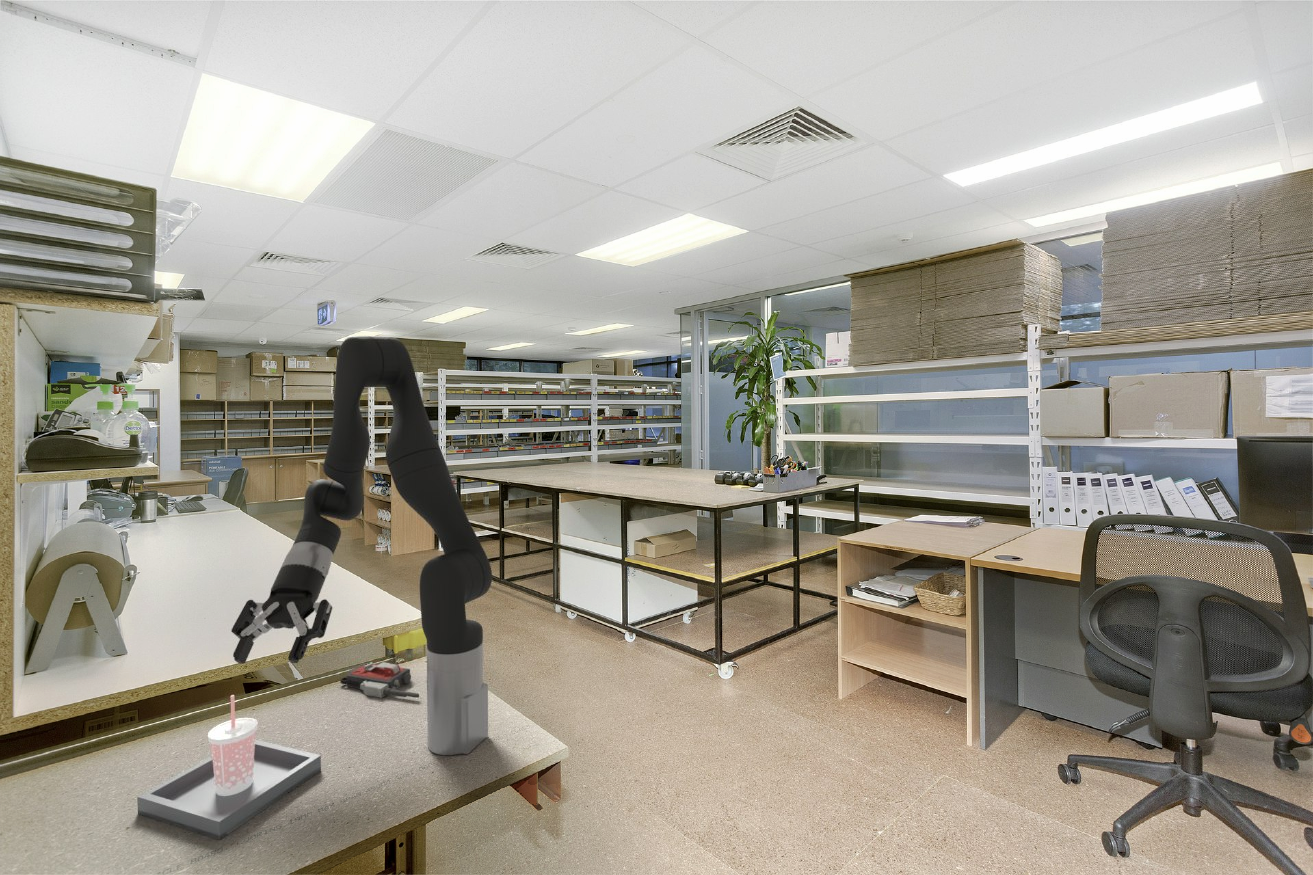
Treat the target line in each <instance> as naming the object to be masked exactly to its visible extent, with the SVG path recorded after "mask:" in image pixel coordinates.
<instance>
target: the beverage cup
mask: <svg viewBox="0 0 1313 875" xmlns="http://www.w3.org/2000/svg"><path fill="white" fill-rule="evenodd" d="M235 698H236V697H235V695H234V694H231V695H230V720H227V721H225V722H222V723H219V724H218V725H216V726H214V727H213V728H211V729H210V731H209V732H208V733H207V739H208V743H210V748H211V750H210V751H211V756H212V760H213V769H214V779H215V788H216V794H218V795H220V796H229V795H233V794H237V793H239V792H241V791H244V790H245V789H247V788H248V787H249V786H251V784H252V783H253V770H254V750H255V740H256V732H257V730H258V720H257V719H256V718H253V717H239V718H236V711H235V710H236V708H235V706H236V704H235V703H236V702H235Z"/></svg>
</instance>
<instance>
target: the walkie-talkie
mask: <svg viewBox="0 0 1313 875" xmlns="http://www.w3.org/2000/svg"><path fill="white" fill-rule="evenodd" d="M368 663H370V664H368ZM365 664H367V665H365ZM360 665H364V666H360ZM411 678H412V674H411V669H410V668H407V667H400V665H399V664H396V663H390V662H385V661H383V662H381V663H379V664H377V663H374V662H372V661H371V662H362V663H361V664H359V665H357V666H355V667H354V668H352V669H350V670H348V671H347V672H346V677H342V678H340V679H339V680H340V684H342V685H346V687H347V688H354V689H360V690H362V691H363V693H364V696H370V697H376V698H377V697H380V698H379V699H383V697H386V696H395V697H401V698H408V697H410V698H415V699H416V698H418V699H419V697H420V693H418V692H417V693H416V692H412V691H405V690H404V691H403V690H398V689H399V688H400V687H402V686H405V685H407V684H409V682H410V681H411Z"/></svg>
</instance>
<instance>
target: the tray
mask: <svg viewBox="0 0 1313 875" xmlns="http://www.w3.org/2000/svg"><path fill="white" fill-rule="evenodd" d="M321 771H322V755H321V754H319V753H312V752H310V751H305V750H300V749H297V748H292V747H288V746H284V745H280V744H276V743H271V742H268V741H263V740H258V739H255V750H254V770H253V783H252V784H251V786H249V787H248V788H247V789H245V790H244V791H241V792H239V793H237V794H233V795H229V796H220V795H218V794H216V788H215V779H214V769H213V760H212V755H211V756H210V757H208V758H205V759H204V760H203V761H201V762H199V763H197V764H195V765H193V766H192V767H190V768H188V769H186V770H184V771H182V772H180V773H179V774H176V775H175V776H173V777H171V778H169V779H168V780H165V781H163V782H162V783H159V784H158V785H156V786H155V787H153V788H151V789H150V790H147V791H145V792H144V793H141V794H139V795H138V796H137V799H136V800H137V801H136V802H137V814H138V815H140V816H144V817H147V818H150V819H153V820H156V821H158V822H159V821H160V822H161V823H166V824H169V825H172V826H175V827H178V828H181V829H184V830H188V831H190V832H193V833H197V834H200V835H203V836H206V837H210V838H212V839H215V840H218V841H220V840H222V839H223V838H225V837H226V836H228V835H229V834H230V833H232V832H234V831H235V830H236V829H238V828H239V827H240V826H242V825H244V824H246V823H247V822H248V821H249V820H251V819H252V818H254V817H255V816H257V815H258V814H260V813H261V812H263V811H264V810H266V808H269V807H270V806H271V805H273V804H274V803H275V802H277V801H279V800H280V799H282V798H283V797H285V796H286V795H287V794H289V793H291V792H292V791H293V790H295V789H297V788H298V787H299V786H301V785H302V784H303V782H304V783H305V782H307V781H308V780H309V779H311V778H312V777H313V776H316V774H318V773H320V772H321ZM300 784H301V785H300ZM297 786H298V787H297ZM294 788H295V789H294ZM291 790H292V791H291ZM288 792H289V793H288Z"/></svg>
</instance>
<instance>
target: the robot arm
mask: <svg viewBox="0 0 1313 875" xmlns="http://www.w3.org/2000/svg"><path fill="white" fill-rule="evenodd" d="M335 364H336V367H335V380H334V381H335V382H334V392H333V395H334V396H333V414H332V415H333V417H332V425H331V426H332V427H331V434H330V438H329V441H328V445H327V449H326V453H325V457H324V462H323V465H322V471H323V473H324V474H325V476H326V477H327V478H329V479H331V480H329V479H324V478H320V479H315V480H314V481H313V482H311V483H310V484H309V485H308V487H307V488H306V490H305V494H304V505H303V506H304V507H303V516H302V520H301V525H300V528H299V530H298V532H297V533H298V534H297V535H296V538H295V540H294V541H293V545H291V548H290V549H289V551H288V552H287V554H286V555H285V557H284V560H283V562H282V564H281V566H280V569H279V571H278V573H277V576H276V577H275V580H274V582H273V584H272V586H271V588H270V592H269V596H268V598H267V600H266V601H264V602H256V601H255V600H254V599H248V600H247V601H246V602H245V604H244V606H243V607H242V610H241V612H240V613H239V615H238V617H237V619H236V621H235V622H234V624H233V626H232V628H231V633H232V634H233V635H234V636H236V637H237V638H238V639H239V640H238V642H237V645H236V647H235V650H234V651H233V653H232V654H233V655H232V657H233V659H234V661H235V662H236V663H238V664H239V665H241V664H245V663H246V662H247V659H248V657H249V655H250V653H251V650H252V648H253V646H254V644H255V642H254V641H256V639H258V638H259V637H260V636H261V635H263V634H266V633H268V632H270V630H271V631H272V629H274V630H275V629H277V630H278V629H283V628H285V629H294V628H296V630H297V633H298V636H296V637H295V639H294V642H293V644H292V647H291V650H290V652H289V654H288V657H287V659H288V661H289V662H290V663H291V664H298V663H299V661H300V660H302V659H303V658H304V656H305V653H306V650H307V648H308V646H309V643H310V641H312V640H314V639H316V638H318V639H322V638H323V637H324V636H325V634H326V630H327V627H328V625H329V620H330V617H331V614H332V611H333V606H332V604H331V603H330V602H329V601H328V599H325V598H324V599H322V600H320V601H319V602H318V599H319V596H320V594H321V591H322V589H323V586H324V584H325V581H326V579H327V576H328V574H329V571H330V568H331V565H332V561H333V560H332V559H333V557H334V554H335V552H336V550H337V547H338V544H339V542H340V539H341V536H342V530H341V528H340V526H339V525H338V524H337V523H335V522H334V521H332V520H329V519H327V518H325V517H328V518H332V519H336V520H341V521H348V522H349V521H353V520H354V519H356V518H357V517H359V515H360V514H361V513H362V510H363V508H364V503H365V493H364V484H363V481H364V480H363V475H364V469H365V467H366V466H365V465H366V462H367V458H368V456H369V455H368V454H369V452H370V448H371V437H370V433H369V429H368V426H367V425H366V422H365V420H364V418H363V415H362V412H361V410H360V409H361V408H360V401H361V397H362V394H363V392H364V390H365V388H383V387H384V388H385V389H386V391H387V393H388V395H389V397H390V401H391V404H392V409H393V420H392V424H391V428H390V431H389V435H388V439H387V443H386V449H385V460H386V464H387V467H388V470H389V473H390V475H391V478H392V481H393V483H394V486H395V489H396V491H397V492H398V494H399V495H400V497H401V498H402V499H403V500H404V502H405V503H406V504H407V505H408V506H409V507H410V508H412V510H413V511H415V512H416V514H418V515H419V516H420V517H421V518H422V519H423V520H424V521H425V522H426V523H427V524H428V525H429V526H430V528H431V529H432V530H433V532H434V533H435V535H436V536H437V539H438V541H439V543H440V546H441V548H442V551H443V554H440V555H437V556H435V557H432V558H431V559H428V561H427V562H426V563H425V564H424V565H423V567H422V570H421V572H420V575H419V576H420V578H419V600H420V601H419V602H420V603H419V604H420V614H421V615H420V618H421V621H420V622H421V628H422V631H423V634H424V636H425V639H426V711H427V712H426V719H427V720H426V721H427V723H426V724H427V725H426V726H427V729H426V730H427V748H428V749H429V751H430V752H432V753H433V754H436V755H441V756H453V755H460V754H464V755H468V754H470V753H471V752H472V751H473V750H474V749H475V748H476V747H478V746H479V745H480V744H481V743H482V742H483V741H484V740H485V739H486V738H488V736H489V686H488V683H485V682H484V630H483V627H482V624H481V623H480V622H478V621H477V620H472V619H467V614H466V613H467V611H466V604H468V603H470V602H472V601H474V600H477V599H479V598H481V597H482V596H484V595H486V594H487V592H488V591H489V590H490V588H491V586H492V582H493V581H492V580H493V572H492V567H491V563H490V560H489V559H488V556H487V554H486V551H485V550H484V548H483V546H482V544H481V541H480V540H479V538H478V536H477V534H476V532H475V530H474V528H473V526H472V524H471V522H470V520H469V518H468V516H467V514H466V511H465V509H464V506H463V504H462V501H461V499H460V497H459V493H458V492H457V489H456V488H455V484H454V482H453V480H452V476H451V474H450V471H449V468H448V464H447V463H446V460H445V457H444V455H443V452H442V449H441V446H440V445H439V442H438V440H437V437H436V436H435V432H434V430H433V428H432V424H431V422H430V419H429V416H428V413H427V410H426V407H425V405H424V402H423V398H422V393H421V391H420V386H419V384H418V383H419V382H418V379H417V375H416V372H415V367H414V364H413V361H412V357H411V355H410V353H409V351H408V349H407V347H406V345H405V344H404V343H403V342H402V341H401V339H398V338H396V337H391V336H376V335H374V336H373V335H351V336H349V337H346V338H345V339H344V340H343V342H342V343H341V344H340V347H339V350H338V354H337V359H336V363H335ZM260 613H261V614H260ZM313 613H315V617H314V620H313V624H312V625H311V628H310V626H309V623H308V621H307V618H308V617H310V616H311V614H313ZM265 621H266V623H264V622H265ZM263 623H264V624H263Z"/></svg>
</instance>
